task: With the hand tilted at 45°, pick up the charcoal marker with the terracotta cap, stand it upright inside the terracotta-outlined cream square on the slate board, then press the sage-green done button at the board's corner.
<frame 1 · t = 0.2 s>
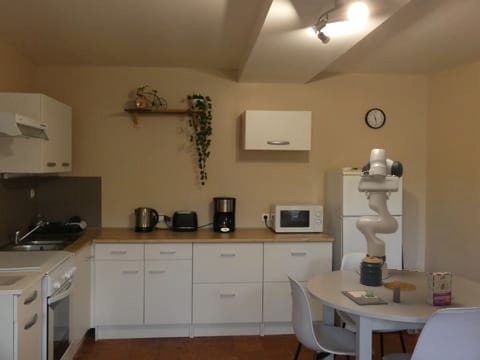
hand: (377, 199, 224), 54 cm above the table, tool tilted 30°, fingers open, 8 cm apart
candy bar box: (438, 304, 225), on the table
canister: (370, 283, 263), on the table
marker: (396, 301, 228), on the table
done button: (369, 294, 226), point 4 cm above the table, slide at 0.0 cm
board: (363, 298, 233), on the table
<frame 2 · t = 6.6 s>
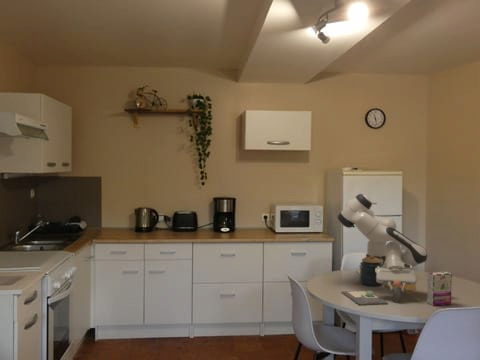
hand: (397, 290, 227), 6 cm above the table, tool tilted 45°, fingers closed on marker, 3 cm apart
marker: (396, 301, 228), on the table, touching gripper
everything else where it was.
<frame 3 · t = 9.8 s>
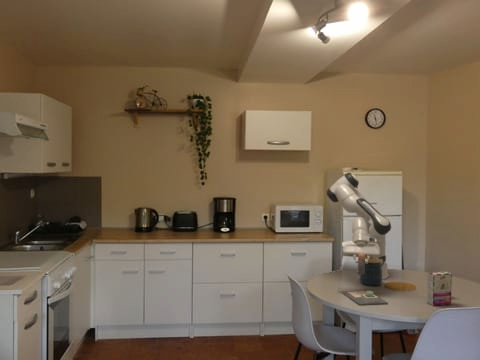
hand: (361, 262, 236), 18 cm above the table, tool tilted 45°, fingers closed on marker, 3 cm apart
marker: (361, 273, 237), point 12 cm above the table, touching gripper
everything else where it was.
when the fingers open (8 cm above the table, at t = 12.6 s): marker stays where it is, resting on board.
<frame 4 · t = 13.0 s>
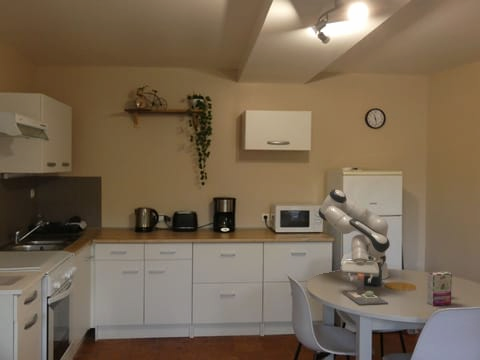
hand: (360, 281, 236), 8 cm above the table, tool tilted 45°, fingers open, 8 cm apart
marker: (360, 294, 237), point 1 cm above the table, touching board
everything else where it was.
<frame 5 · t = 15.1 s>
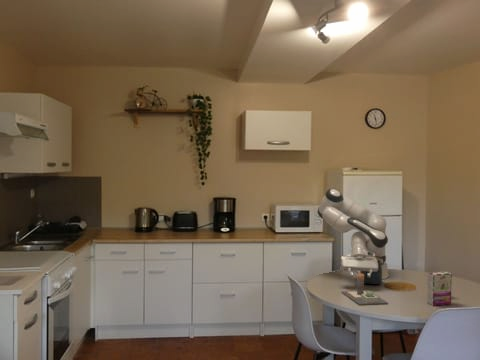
hand: (360, 276, 245), 9 cm above the table, tool tilted 45°, fingers open, 8 cm apart
canister: (370, 282, 263), on the table, touching arm
everything else where it was.
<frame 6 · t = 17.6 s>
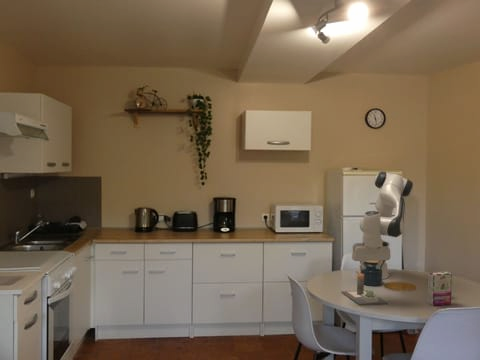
hand: (370, 269, 226), 17 cm above the table, tool pointing down, fingers open, 7 cm apart
canister: (370, 283, 263), on the table
everything else where it was.
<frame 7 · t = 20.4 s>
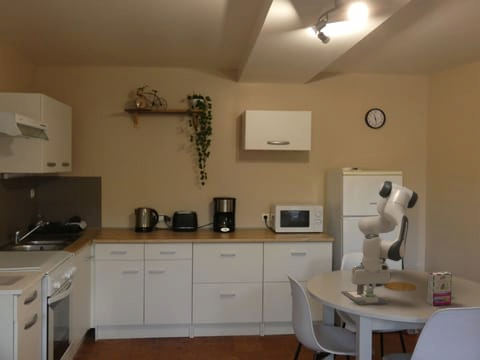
hand: (370, 292, 226), 5 cm above the table, tool pointing down, fingers closed, pressing on done button
done button: (369, 294, 226), point 4 cm above the table, slide at 0.2 cm, touching gripper
everything else where it was.
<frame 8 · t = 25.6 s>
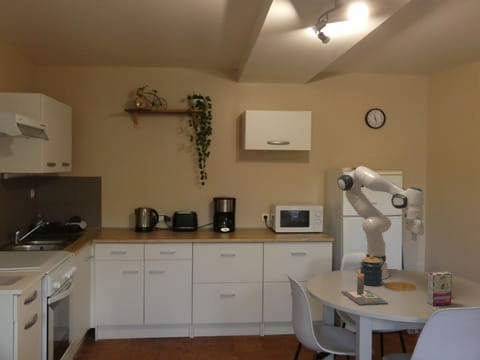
hand: (414, 240, 248), 29 cm above the table, tool pointing down, fingers closed
done button: (369, 296, 226), point 3 cm above the table, slide at 1.1 cm
everything else where it was.
at the end: marker 0.1 cm from the target spot on the board, point 0.9 cm above the board's base; marker tilted 0°; done button slide at 1.1 cm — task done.
